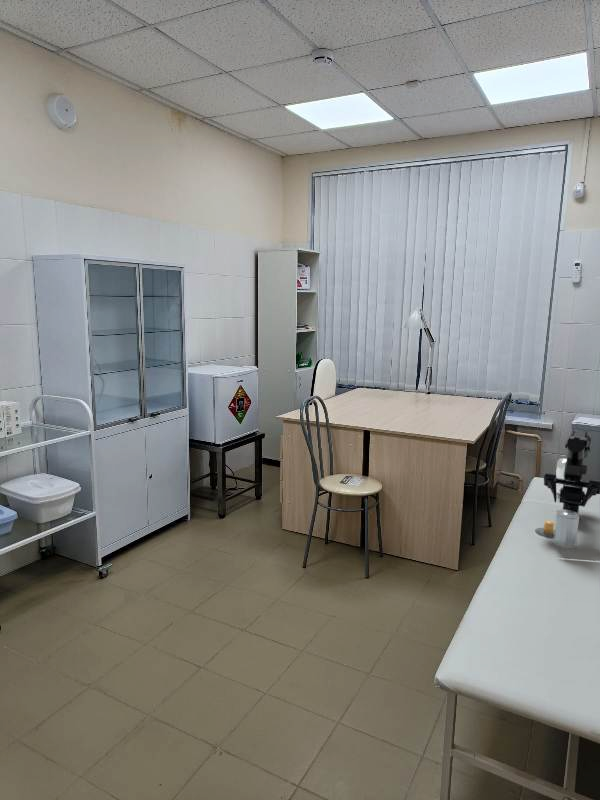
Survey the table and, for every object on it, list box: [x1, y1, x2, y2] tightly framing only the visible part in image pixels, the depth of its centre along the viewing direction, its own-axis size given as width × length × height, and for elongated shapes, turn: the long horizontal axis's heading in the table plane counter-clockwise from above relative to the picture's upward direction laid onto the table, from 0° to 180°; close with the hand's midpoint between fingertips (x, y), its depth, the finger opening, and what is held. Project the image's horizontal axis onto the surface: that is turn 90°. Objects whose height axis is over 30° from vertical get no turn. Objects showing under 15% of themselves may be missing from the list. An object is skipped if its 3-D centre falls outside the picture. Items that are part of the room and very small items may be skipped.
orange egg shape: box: [543, 520, 555, 535], centre depth 203 cm, size 3×3×4 cm
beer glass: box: [555, 457, 567, 495], centre depth 246 cm, size 7×7×15 cm
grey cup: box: [552, 508, 580, 550], centre depth 193 cm, size 7×7×12 cm
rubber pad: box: [534, 527, 555, 539], centre depth 204 cm, size 9×9×1 cm
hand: (569, 504), depth 198 cm, fingers open, 9 cm apart
